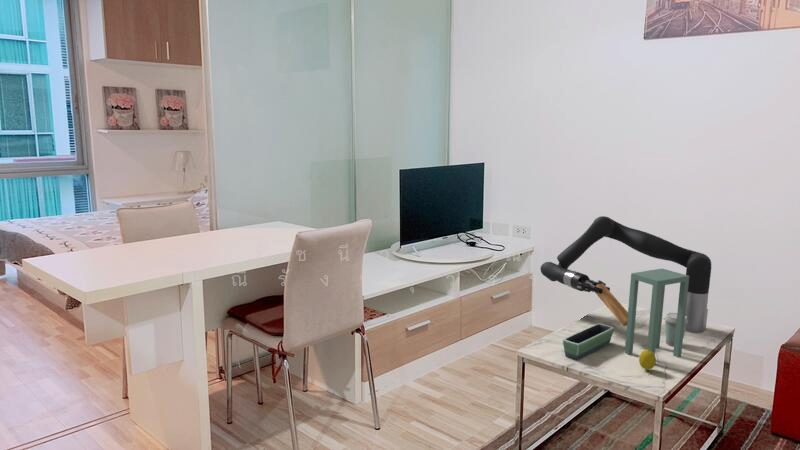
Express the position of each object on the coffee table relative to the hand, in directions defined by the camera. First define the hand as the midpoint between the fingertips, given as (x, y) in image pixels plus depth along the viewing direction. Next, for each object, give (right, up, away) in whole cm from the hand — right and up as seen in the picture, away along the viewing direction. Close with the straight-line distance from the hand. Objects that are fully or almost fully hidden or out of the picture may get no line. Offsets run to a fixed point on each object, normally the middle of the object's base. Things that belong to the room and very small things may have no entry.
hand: (605, 290), depth 245 cm
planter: (-12, -22, -15) cm, 29 cm away
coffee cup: (+25, -21, -8) cm, 33 cm away
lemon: (+3, -25, -33) cm, 42 cm away
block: (+2, -7, -2) cm, 7 cm away
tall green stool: (+12, -23, -19) cm, 32 cm away
